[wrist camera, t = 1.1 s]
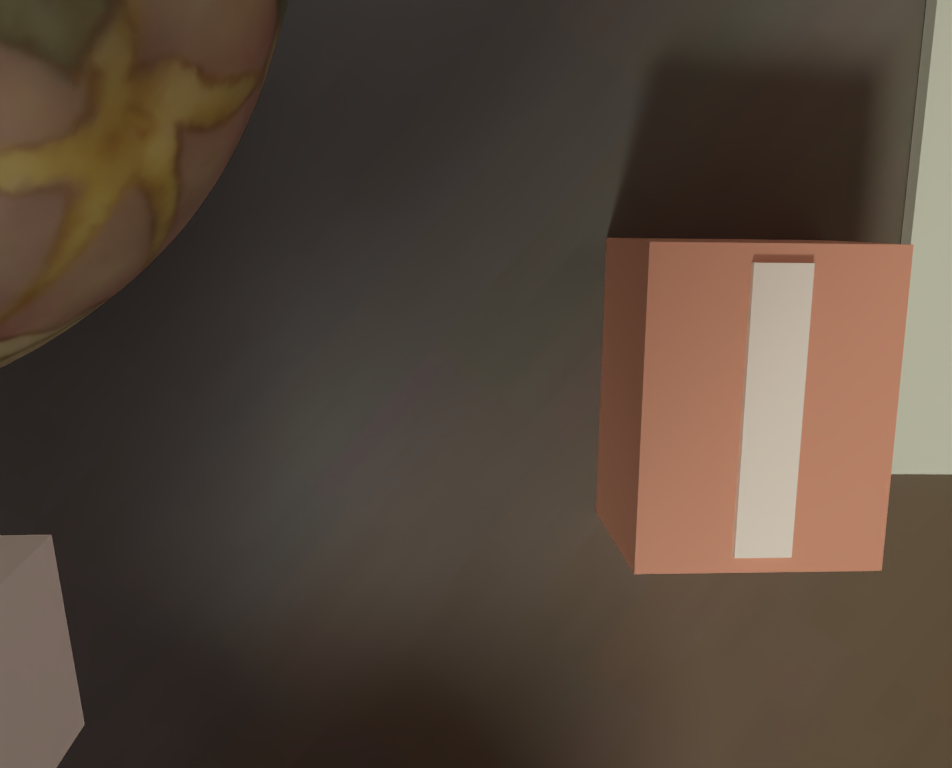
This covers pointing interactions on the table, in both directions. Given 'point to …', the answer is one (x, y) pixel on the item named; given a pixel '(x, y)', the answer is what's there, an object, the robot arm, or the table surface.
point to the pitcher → (112, 141)
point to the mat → (929, 263)
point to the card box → (750, 402)
